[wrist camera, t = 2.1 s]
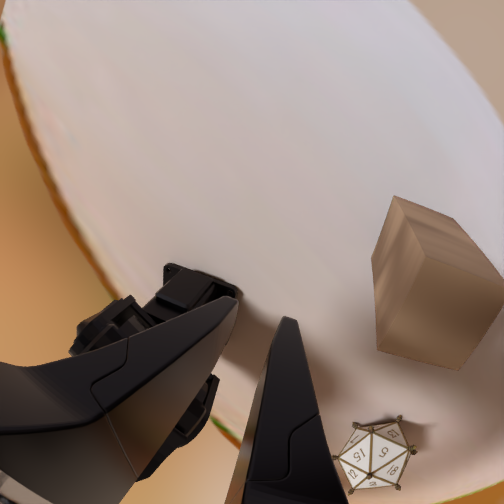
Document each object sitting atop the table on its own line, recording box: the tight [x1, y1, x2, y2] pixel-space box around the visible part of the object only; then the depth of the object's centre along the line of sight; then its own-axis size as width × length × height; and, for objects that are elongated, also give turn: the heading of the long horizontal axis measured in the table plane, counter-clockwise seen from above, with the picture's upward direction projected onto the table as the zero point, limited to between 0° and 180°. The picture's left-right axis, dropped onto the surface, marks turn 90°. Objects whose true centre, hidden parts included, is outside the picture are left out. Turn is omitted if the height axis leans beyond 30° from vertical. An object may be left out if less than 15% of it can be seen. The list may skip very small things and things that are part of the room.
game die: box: [331, 415, 417, 496], centre depth 22 cm, size 9×8×10 cm
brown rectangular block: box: [371, 196, 504, 371], centre depth 13 cm, size 4×4×9 cm
